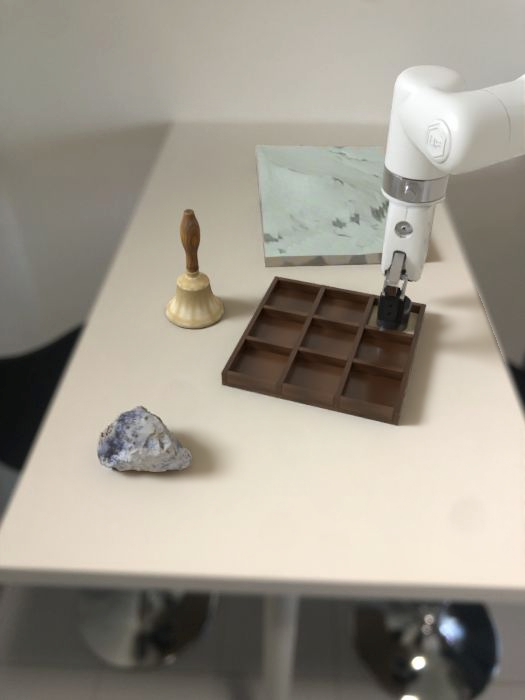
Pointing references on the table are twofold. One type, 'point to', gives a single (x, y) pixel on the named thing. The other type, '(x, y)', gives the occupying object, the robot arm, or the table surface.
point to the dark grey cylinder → (396, 326)
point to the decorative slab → (321, 204)
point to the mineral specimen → (141, 444)
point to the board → (325, 351)
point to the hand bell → (193, 284)
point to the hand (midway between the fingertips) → (396, 299)
